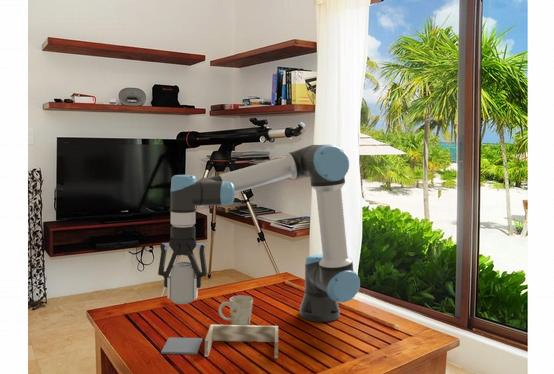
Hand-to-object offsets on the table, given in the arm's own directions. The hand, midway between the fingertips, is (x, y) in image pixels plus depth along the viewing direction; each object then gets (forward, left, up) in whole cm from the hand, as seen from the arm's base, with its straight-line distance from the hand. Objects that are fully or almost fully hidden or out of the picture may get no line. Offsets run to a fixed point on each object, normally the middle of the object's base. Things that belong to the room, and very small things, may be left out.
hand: (182, 297), depth 150 cm
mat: (0, 0, -16) cm, 16 cm away
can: (0, 0, -1) cm, 1 cm away
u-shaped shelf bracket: (-19, +1, -16) cm, 25 cm away
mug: (-15, -18, -16) cm, 28 cm away
